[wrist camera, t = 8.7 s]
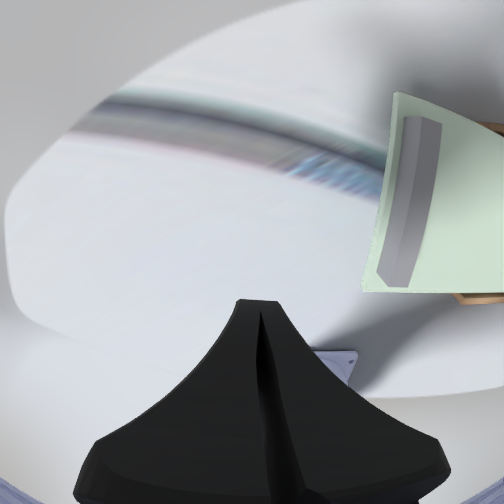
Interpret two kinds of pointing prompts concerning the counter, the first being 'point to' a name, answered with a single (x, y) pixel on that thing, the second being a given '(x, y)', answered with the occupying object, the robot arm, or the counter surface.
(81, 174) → the counter surface
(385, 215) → the lid
